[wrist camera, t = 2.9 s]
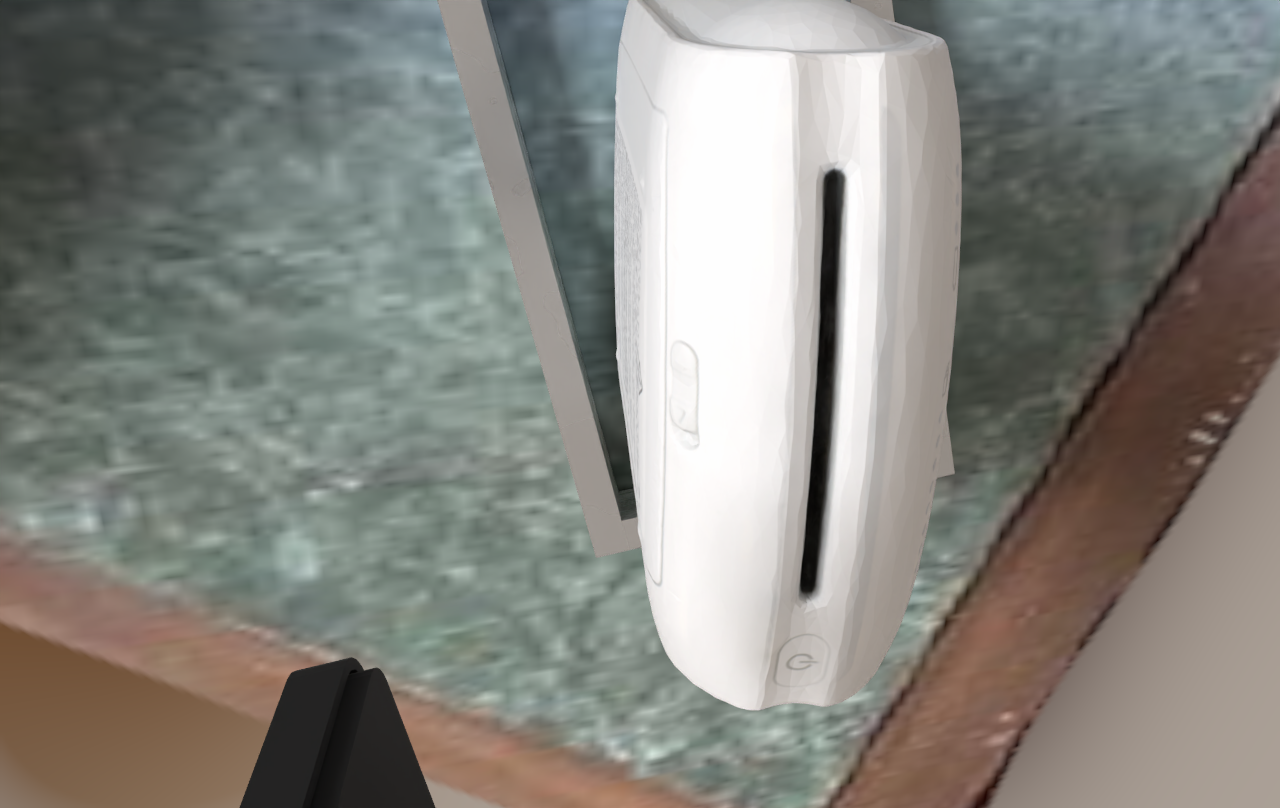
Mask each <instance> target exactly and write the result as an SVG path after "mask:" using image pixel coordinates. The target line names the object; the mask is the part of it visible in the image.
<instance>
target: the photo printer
mask: <svg viewBox="0 0 1280 808" xmlns="http://www.w3.org/2000/svg"><path fill="white" fill-rule="evenodd" d="M615 100H616V123H615V173H614V259H615V311H616V334H617V351H616V358H617V361H618V373H619V382H620V390H621V396H622V403H623V410H624V417H625V424H626V432H627V440H628V447H629V455H630V463H631V470H632V478H633V485H634V492H635V499H636V507H637V515H638V534H639V538H640V541H641V546H642V553H643V560H644V567H645V575H646V583H647V589H648V595H649V600H650V604H651V609H652V613H653V617H654V620H655V624H656V627H657V630H658V634H659V637H660V639H661V642H662V644H663V646H664V649H665V651H666V653H667V655H668V656H669V658H670V659H671V661H672V662H673V664H674V665H675V666H676V667H677V668H678V669H679V670H680V671H681V672H682V673H683V674H684V675H685V676H686V677H687V678H688V679H689V680H690V681H691V682H692V683H693V684H695V685H696V686H698V687H699V688H701V689H703V690H704V691H706V692H707V693H709V694H711V695H712V696H714V697H715V698H718V699H720V700H722V701H725V702H727V703H729V704H732V705H734V706H736V707H738V708H742V709H746V710H762V709H765V708H768V707H771V706H775V705H780V704H786V703H804V704H812V705H818V706H823V707H825V706H831V705H834V704H837V703H840V702H843V701H844V700H846V699H848V698H849V697H851V696H853V695H854V694H856V693H857V692H858V691H859V690H860V689H862V688H863V687H864V686H865V685H866V684H867V683H868V681H869V680H870V679H871V678H872V677H873V676H874V675H875V673H876V672H877V670H878V668H879V666H880V664H881V663H882V661H883V659H884V657H885V655H886V654H887V652H888V650H889V648H890V646H891V644H892V642H893V639H894V637H895V635H896V633H897V631H898V629H899V627H900V625H901V622H902V619H903V617H904V614H905V611H906V608H907V605H908V603H909V600H910V596H911V592H912V589H913V585H914V582H915V579H916V576H917V572H918V568H919V563H920V558H921V554H922V550H923V545H924V541H925V537H926V533H927V528H928V523H929V518H930V513H931V508H932V502H933V497H934V491H935V485H936V479H937V472H938V466H939V459H940V453H941V446H942V439H943V430H944V423H945V416H946V406H947V400H948V390H949V382H950V374H951V364H952V351H953V341H954V330H955V320H956V308H957V294H958V277H959V259H960V241H961V202H962V186H961V172H962V158H961V136H960V122H959V113H958V104H957V95H956V89H955V85H954V78H953V71H952V67H951V62H950V57H949V51H948V47H947V45H946V42H945V41H944V40H943V39H942V38H941V37H938V36H935V35H933V34H930V33H927V32H923V31H920V30H916V29H914V28H912V27H909V26H904V25H902V24H899V23H896V22H893V21H890V20H887V19H883V18H880V17H878V16H876V15H875V14H873V13H872V12H870V11H869V10H867V9H865V8H862V7H860V6H858V5H855V4H853V3H850V2H848V1H845V0H629V2H628V5H627V9H626V14H625V18H624V23H623V28H622V34H621V39H620V44H619V55H618V69H617V85H616V95H615Z"/></svg>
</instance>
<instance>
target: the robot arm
mask: <svg viewBox="0 0 1280 808" xmlns="http://www.w3.org/2000/svg"><path fill="white" fill-rule="evenodd" d="M240 808H435V805H434V803H433V800H432V798H431V795H430V792H429V790H428V787H427V784H426V782H425V779H424V776H423V774H422V771H421V769H420V766H419V763H418V761H417V758H416V756H415V753H414V750H413V748H412V745H411V742H410V740H409V737H408V735H407V732H406V729H405V727H404V724H403V722H402V719H401V716H400V714H399V711H398V708H397V706H396V703H395V701H394V698H393V695H392V693H391V690H390V688H389V685H388V682H387V680H386V678H385V676H384V674H383V673H382V671H381V670H380V669H378V668H373V669H369V670H365V671H364V670H363V668H362V666H361V665H360V663H359V662H358V661H357V660H356V659H354V658H352V657H351V658H347V659H343V660H339V661H335V662H331V663H326V664H322V665H318V666H314V667H310V668H305V669H301V670H297V671H294V672H292V673H291V674H290V676H289V677H288V679H287V682H286V684H285V687H284V690H283V692H282V695H281V698H280V700H279V703H278V706H277V708H276V711H275V714H274V717H273V719H272V722H271V725H270V727H269V730H268V733H267V736H266V738H265V741H264V743H263V746H262V749H261V752H260V754H259V757H258V760H257V763H256V765H255V768H254V770H253V773H252V776H251V778H250V781H249V784H248V787H247V789H246V792H245V795H244V797H243V800H242V803H241V805H240Z"/></svg>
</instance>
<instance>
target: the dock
mask: <svg viewBox="0 0 1280 808" xmlns="http://www.w3.org/2000/svg"><path fill="white" fill-rule="evenodd" d="M437 1H438V4H439V8H440V11H441V15H442V18H443V22H444V25H445V29H446V32H447V36H448V39H449V43H450V46H451V50H452V53H453V57H454V60H455V64H456V67H457V71H458V74H459V78H460V81H461V85H462V88H463V92H464V95H465V99H466V102H467V106H468V110H469V113H470V117H471V120H472V124H473V127H474V131H475V134H476V138H477V141H478V145H479V148H480V152H481V155H482V159H483V162H484V166H485V169H486V173H487V176H488V180H489V183H490V187H491V190H492V194H493V197H494V201H495V204H496V208H497V211H498V215H499V218H500V222H501V225H502V229H503V232H504V236H505V239H506V243H507V246H508V250H509V253H510V257H511V260H512V264H513V267H514V271H515V274H516V278H517V281H518V285H519V288H520V292H521V295H522V299H523V302H524V306H525V309H526V313H527V316H528V320H529V323H530V327H531V331H532V334H533V338H534V341H535V345H536V348H537V352H538V355H539V359H540V362H541V366H542V369H543V373H544V376H545V380H546V383H547V387H548V390H549V394H550V397H551V401H552V404H553V408H554V411H555V415H556V418H557V422H558V425H559V429H560V432H561V436H562V439H563V443H564V446H565V450H566V453H567V457H568V460H569V464H570V467H571V471H572V474H573V478H574V481H575V485H576V488H577V492H578V495H579V499H580V502H581V506H582V509H583V513H584V516H585V520H586V523H587V527H588V530H589V534H590V537H591V541H592V544H593V548H594V552H595V555H596V558H597V557H602V556H606V555H610V554H614V553H619V552H623V551H627V550H631V549H636V548H640V547H642V546H641V541H640V538H639V534H638V515H637V507H636V499H635V492H634V488H631V489H627V490H623V491H618V488H617V484H616V480H615V477H614V473H613V469H612V465H611V462H610V458H609V454H608V451H607V447H606V443H605V439H604V436H603V432H602V428H601V424H600V421H599V417H598V413H597V410H596V406H595V402H594V398H593V395H592V391H591V387H590V384H589V380H588V376H587V372H586V369H585V365H584V361H583V357H582V354H581V350H580V346H579V343H578V339H577V335H576V331H575V328H574V324H573V320H572V317H571V313H570V309H569V305H568V302H567V298H566V294H565V290H564V287H563V283H562V279H561V276H560V272H559V268H558V264H557V261H556V257H555V253H554V250H553V246H552V242H551V238H550V235H549V231H548V227H547V223H546V220H545V216H544V212H543V209H542V205H541V201H540V197H539V194H538V190H537V186H536V182H535V179H534V175H533V171H532V168H531V164H530V160H529V156H528V153H527V149H526V145H525V142H524V138H523V134H522V130H521V127H520V123H519V119H518V115H517V112H516V108H515V104H514V101H513V97H512V93H511V89H510V86H509V82H508V78H507V75H506V71H505V67H504V63H503V60H502V56H501V52H500V48H499V45H498V41H497V37H496V34H495V30H494V26H493V22H492V19H491V15H490V11H489V8H488V4H487V0H437ZM845 1H848V2H850V3H853V4H855V5H858V6H860V7H862V8H865V9H867V10H869V11H870V12H872V13H873V14H875V15H876V16H878V17H880V18H883V19H887V20H890V21H893V22H895V20H894V12H893V5H892V0H845ZM952 474H955V471H954V464H953V456H952V449H951V441H950V434H949V426H948V419H947V411H946V416H945V423H944V430H943V439H942V446H941V453H940V459H939V466H938V472H937V478H939V477H943V476H947V475H952Z"/></svg>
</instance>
